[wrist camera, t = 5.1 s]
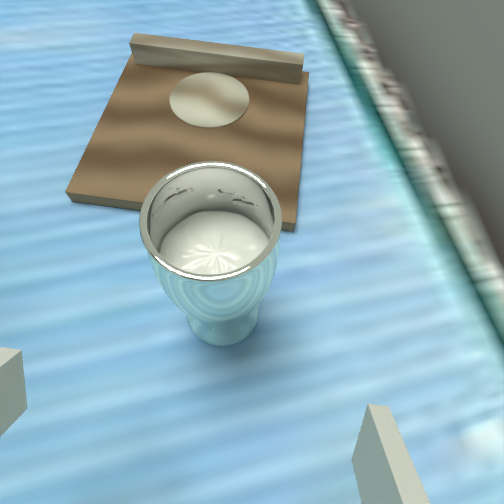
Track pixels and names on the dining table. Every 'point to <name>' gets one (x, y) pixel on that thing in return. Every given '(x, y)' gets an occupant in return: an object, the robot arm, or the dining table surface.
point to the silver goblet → (213, 245)
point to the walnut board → (197, 120)
